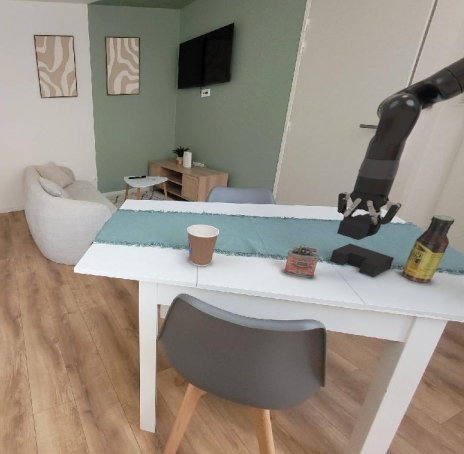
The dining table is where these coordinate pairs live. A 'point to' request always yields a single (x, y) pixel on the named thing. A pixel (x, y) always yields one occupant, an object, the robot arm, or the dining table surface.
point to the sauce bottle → (428, 250)
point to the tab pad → (356, 226)
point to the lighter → (301, 262)
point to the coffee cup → (201, 243)
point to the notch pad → (362, 259)
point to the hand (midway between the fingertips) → (357, 231)
